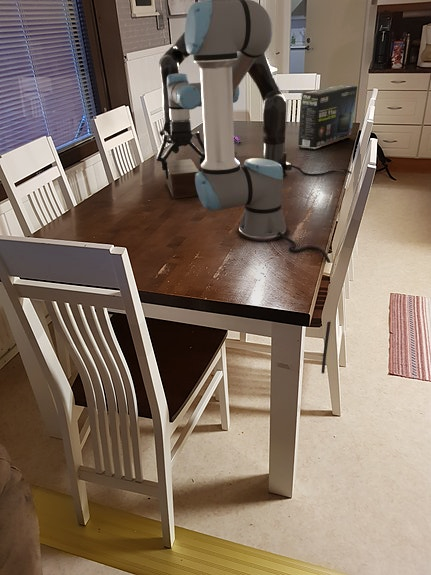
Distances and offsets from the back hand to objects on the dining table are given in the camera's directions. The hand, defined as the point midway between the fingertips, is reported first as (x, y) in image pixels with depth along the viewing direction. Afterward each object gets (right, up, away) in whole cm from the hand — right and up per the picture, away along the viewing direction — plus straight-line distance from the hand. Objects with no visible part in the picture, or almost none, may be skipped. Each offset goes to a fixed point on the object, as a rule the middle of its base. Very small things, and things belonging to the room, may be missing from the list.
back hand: (175, 152), depth 195 cm
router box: (+76, +20, +50) cm, 93 cm away
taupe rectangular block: (+4, -17, -6) cm, 19 cm away
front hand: (+5, -14, -15) cm, 21 cm away
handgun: (+26, +26, +64) cm, 73 cm away
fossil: (+18, +5, +30) cm, 35 cm away
